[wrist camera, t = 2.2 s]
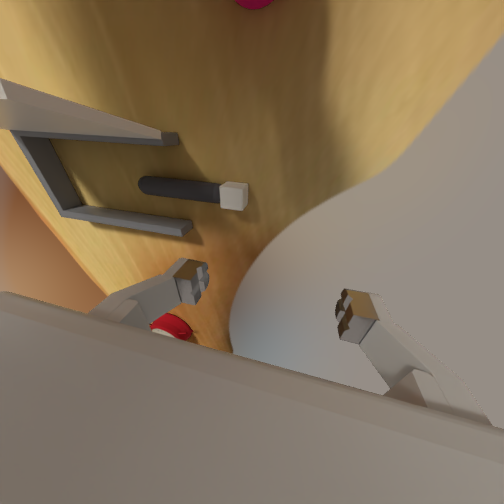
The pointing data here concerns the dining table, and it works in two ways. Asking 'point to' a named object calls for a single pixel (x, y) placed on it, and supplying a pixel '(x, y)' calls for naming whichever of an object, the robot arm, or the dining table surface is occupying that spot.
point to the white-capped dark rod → (198, 191)
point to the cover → (61, 115)
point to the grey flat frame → (64, 194)
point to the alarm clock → (171, 327)
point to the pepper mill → (253, 3)
